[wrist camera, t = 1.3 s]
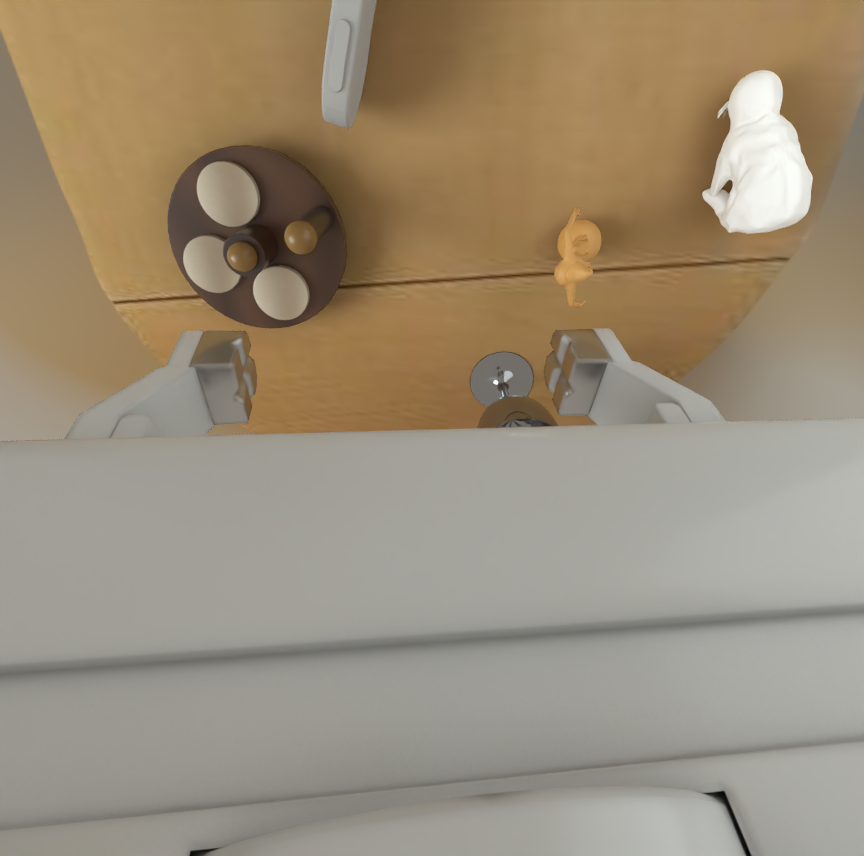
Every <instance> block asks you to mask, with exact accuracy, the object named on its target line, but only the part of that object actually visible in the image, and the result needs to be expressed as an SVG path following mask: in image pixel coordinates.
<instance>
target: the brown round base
mask: <svg viewBox="0 0 864 856" xmlns="http://www.w3.org/2000/svg"><path fill="white" fill-rule="evenodd" d="M168 233H169V239H170V244H171V248H172V251H173V254H174V257H175V259H176V261H177V264H178V266H179V268H180V270H181V271H182V273H183V275H184V277H185V278H186V280H187V281H188V282H189V284H190V285H191V287H192V288H193V289H194V290H195V291H196V292H197V294H198V295H199V296H200V297H201V298H202V299H204V300H205V301H206V302H207V303H208V304H209V305H210V306H212V307H213V308H214V309H216V310H217V311H219V312H220V313H222V314H224V315H225V316H227V317H229V318H231V319H233V320H236V321H238V322H241V323H244V324H247V325H250V326H255V327H261V328H283V327H289V326H293V325H296V324H299V323H302V322H304V321H306V320H308V319H310V318H311V317H313V316H314V315H316V314H317V313H318V312H320V311H321V310H322V309H323V308H324V307H325V306H326V305H327V304H328V302H329V301H330V300H331V299H332V297H333V295H334V294H335V292H336V290H337V289H338V286H339V284H340V282H341V280H342V277H343V273H344V270H345V264H346V257H347V245H346V236H345V231H344V227H343V223H342V220H341V217H340V214H339V212H338V209H337V207H336V206H335V204H334V202H333V200H332V198H331V197H330V195H329V194H328V192H327V191H326V189H325V188H324V186H323V185H322V184H321V183H320V182H319V181H318V179H317V178H316V177H315V176H314V175H313V174H311V173H310V172H309V171H308V170H307V169H306V168H305V167H303V166H302V165H301V164H299V163H298V162H296V161H295V160H293V159H291V158H289V157H288V156H286V155H284V154H281V153H279V152H276V151H274V150H271V149H267V148H263V147H258V146H249V145H243V146H231V147H226V148H221V149H217V150H215V151H212V152H209V153H207V154H205V155H204V156H202V157H200V158H198V159H197V160H196V161H195V162H194V163H192V164H191V165H190V166H189V167H188V168H187V169H186V170H185V172H184V173H183V174H182V175H181V177H180V179H179V180H178V182H177V183H176V185H175V188H174V190H173V193H172V195H171V199H170V203H169V209H168Z"/></svg>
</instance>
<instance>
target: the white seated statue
mask: <svg viewBox="0 0 864 856" xmlns="http://www.w3.org/2000/svg"><path fill="white" fill-rule="evenodd" d="M782 98H783V89H782V84H781V81H780V79H779V77H778V76H777V75H776V74H775V73H773V72H771V71H766V70H760V71H756V72H753V73H750V74H748V75H747V76H745V77H744V78H742V79H741V80H740V81H739V82H738V84H737V85H736V86H735V88H734V89H733V91H732V93H731V96H730V99H729V101H728V102H727V103H726V104H725V105H724V106H723V107H722V108H721V109H720V110H719V112H718V114H719V113H720V114H719V115H718V116H719V117H720V115H721V114H722V113H723V112H724V111H725V110H726V108H727V107H728V108H727V110H728V111H729V112H728V113H729V116H730V121H731V125H730V132H729V134H728V135H727V137H726V139H725V141H724V143H723V146H722V149H721V152H720V154H719V156H718V159H717V162H716V168H715V172H714V175H713V179H712V184H711V188H710V189H706V190H705V191H704V192H703V194H702V196H703V199H704V200H705V201H706V202H707V203H708V204H709V205H710V206H711V207H712V208H713V209H714V211H715V214H716V215H717V216H718V218H719V219H720V224H721V225H722V226H724V227H725V228H726V229H727V231H728V232H729V233H732V232H743V233H747V234H752V233H762V232H770V231H774V230H777V229H780V228H784V227H787V226H790V225H792V224H794V223H796V222H798V221H799V220H801V219H802V218H803V217H804V216H805V215H806V214H807V212H808V209H809V206H810V199H811V187H812V181H813V177H812V174H811V172H810V171H809V169H808V167H807V165H806V162H805V158H804V156H803V154H802V153H801V149H800V144H799V142H798V135H797V132H796V130H795V128H794V127H793V125H792V124H791V123H790V122H789V121H787V120H786V119H785V118H784V117H783V116H782V115H780V113H779V111H780V107H781V103H782ZM727 110H726V111H727ZM724 113H725V112H724ZM726 113H727V112H726ZM719 117H718V118H719ZM723 117H724V116H723ZM723 117H722V118H723ZM718 118H717V119H718ZM728 180H731V181H732V182H733V187H732V189H731V191H730V194H729V193H728V192H727V191H725V190H723V189H722V187H723V186H724V185H725V184H726V183H727V181H728Z"/></svg>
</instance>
